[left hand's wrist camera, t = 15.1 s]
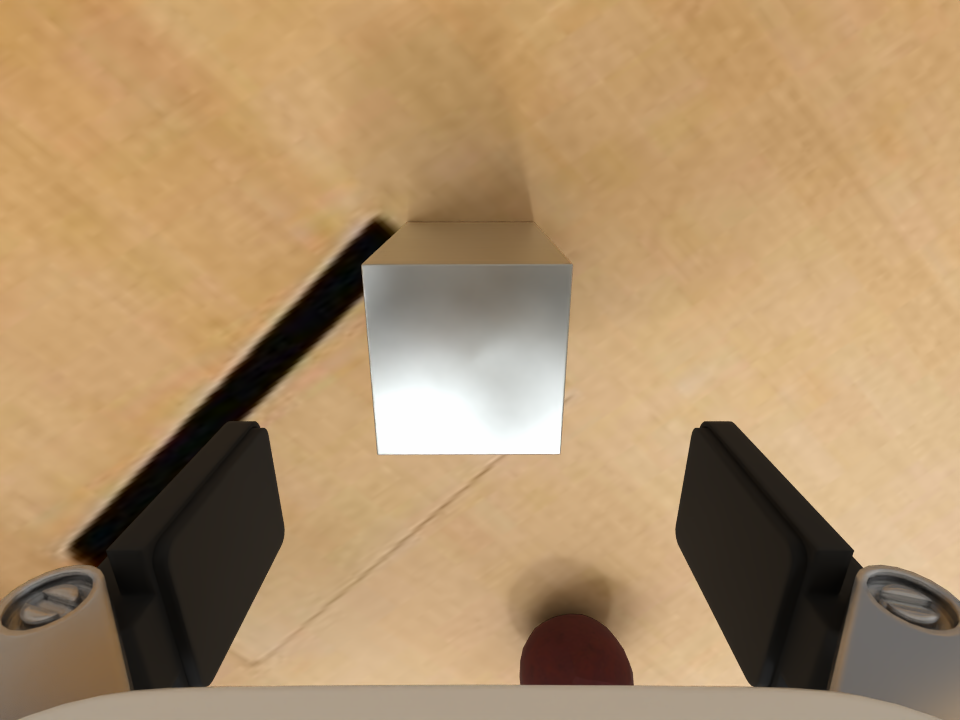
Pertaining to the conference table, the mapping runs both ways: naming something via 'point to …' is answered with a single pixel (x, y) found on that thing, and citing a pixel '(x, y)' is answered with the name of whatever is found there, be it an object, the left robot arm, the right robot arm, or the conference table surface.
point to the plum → (574, 654)
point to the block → (468, 339)
